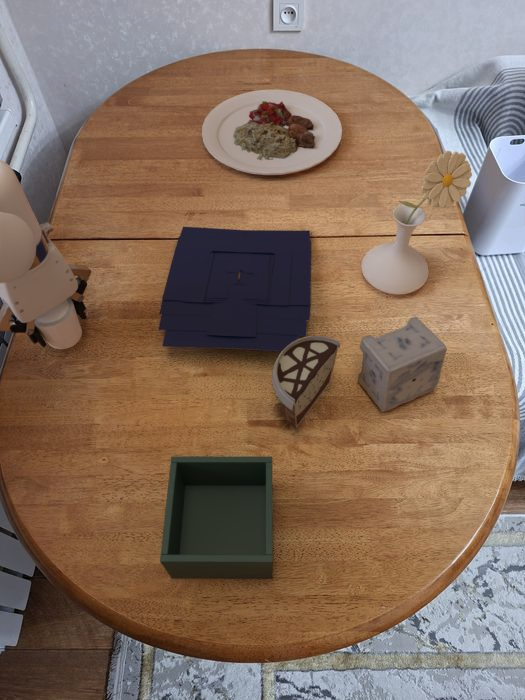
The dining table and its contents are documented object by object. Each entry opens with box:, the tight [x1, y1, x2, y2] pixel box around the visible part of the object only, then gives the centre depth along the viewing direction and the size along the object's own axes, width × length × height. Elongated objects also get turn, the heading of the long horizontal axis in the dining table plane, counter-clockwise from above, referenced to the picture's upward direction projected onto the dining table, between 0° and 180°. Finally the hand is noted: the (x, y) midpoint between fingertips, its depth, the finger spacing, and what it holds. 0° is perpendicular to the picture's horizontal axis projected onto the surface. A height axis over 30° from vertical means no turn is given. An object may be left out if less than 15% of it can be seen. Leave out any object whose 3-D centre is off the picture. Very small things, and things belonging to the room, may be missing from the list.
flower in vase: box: [360, 150, 473, 295], centre depth 86 cm, size 13×11×25 cm
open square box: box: [159, 456, 274, 580], centre depth 68 cm, size 13×13×8 cm
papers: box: [158, 226, 312, 352], centre depth 93 cm, size 24×30×4 cm
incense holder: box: [357, 316, 448, 413], centre depth 79 cm, size 10×8×10 cm
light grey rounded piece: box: [35, 297, 83, 350], centre depth 87 cm, size 7×7×7 cm
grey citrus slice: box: [271, 335, 341, 429], centre depth 79 cm, size 12×6×10 cm, turn 145°
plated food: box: [201, 89, 343, 176], centre depth 118 cm, size 30×30×3 cm
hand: (60, 327), depth 88 cm, fingers closed on light grey rounded piece, 6 cm apart
